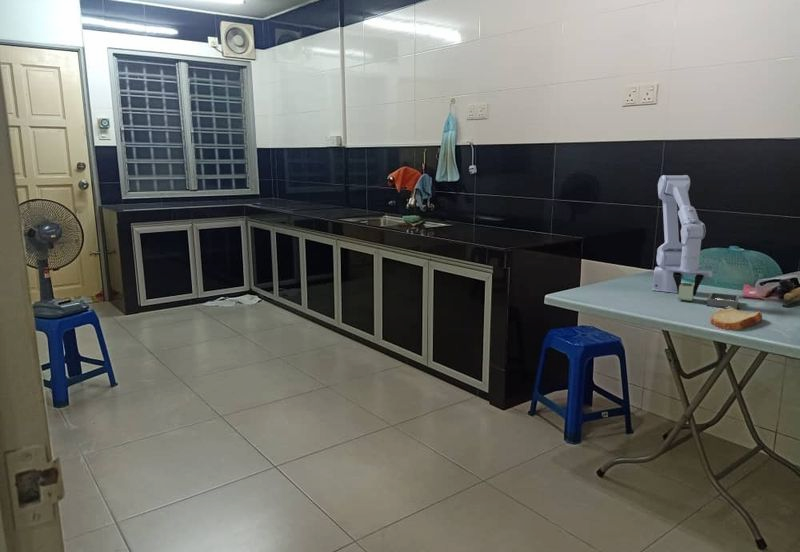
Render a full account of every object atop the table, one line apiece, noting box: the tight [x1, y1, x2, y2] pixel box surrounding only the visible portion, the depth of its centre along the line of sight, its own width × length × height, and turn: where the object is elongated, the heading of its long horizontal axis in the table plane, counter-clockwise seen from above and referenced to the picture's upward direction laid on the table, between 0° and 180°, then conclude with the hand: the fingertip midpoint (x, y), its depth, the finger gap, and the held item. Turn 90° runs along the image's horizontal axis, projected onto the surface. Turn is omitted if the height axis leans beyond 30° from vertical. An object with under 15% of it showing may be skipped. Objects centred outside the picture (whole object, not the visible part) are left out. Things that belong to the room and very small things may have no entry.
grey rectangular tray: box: [706, 292, 740, 310], centre depth 194 cm, size 9×11×2 cm
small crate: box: [677, 281, 695, 302], centre depth 200 cm, size 4×7×5 cm, turn 146°
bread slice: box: [710, 308, 763, 332], centre depth 172 cm, size 18×18×4 cm
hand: (686, 294), depth 200 cm, fingers closed on small crate, 4 cm apart
